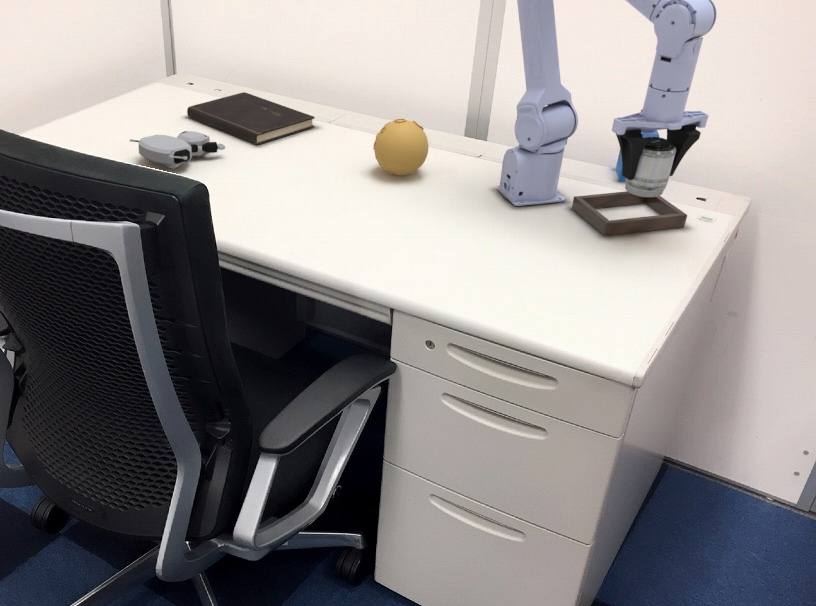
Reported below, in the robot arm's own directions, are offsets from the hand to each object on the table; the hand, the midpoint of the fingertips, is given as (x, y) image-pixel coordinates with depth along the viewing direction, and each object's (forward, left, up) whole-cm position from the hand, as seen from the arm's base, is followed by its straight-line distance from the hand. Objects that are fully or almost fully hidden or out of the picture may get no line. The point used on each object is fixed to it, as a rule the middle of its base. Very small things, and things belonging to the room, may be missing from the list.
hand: (647, 175), depth 132 cm
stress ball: (-29, +33, -10) cm, 45 cm away
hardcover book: (-51, +67, -10) cm, 85 cm away
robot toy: (-68, +49, -10) cm, 84 cm away
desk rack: (+2, +6, -10) cm, 12 cm away
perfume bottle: (+13, +22, -10) cm, 28 cm away
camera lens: (0, 0, -3) cm, 3 cm away
